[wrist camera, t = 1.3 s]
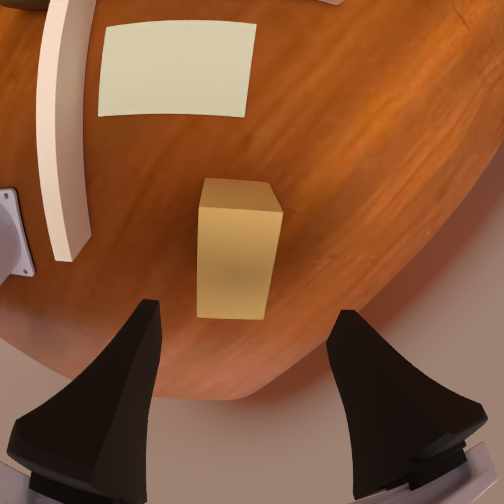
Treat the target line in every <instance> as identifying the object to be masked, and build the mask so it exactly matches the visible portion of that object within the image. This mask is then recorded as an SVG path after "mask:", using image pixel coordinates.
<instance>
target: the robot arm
mask: <svg viewBox="0 0 504 504" xmlns="http://www.w3.org/2000/svg"><path fill="white" fill-rule="evenodd" d="M7 194H8V196H7ZM26 270H27V271H26ZM9 274H15V275H23V276H30V277H32V276H33V275H34V274H35V269H34V266H33V263H32V259H31V256H30V252H29V249H28V245H27V241H26V237H25V233H24V229H23V225H22V220H21V215H20V210H19V205H18V200H17V194H16V191H15V190H14V189H13V188H7V189H0V286H1V284H2V283H3V282H4V280H5V279H6V278H7V277H8V275H9ZM161 345H162V329H161V319H160V307H159V301H157V300H147V299H143V300H142V301H141V302H140V303H139V305H138V306H137V308H136V309H135V310H134V312H133V313H132V315H131V316H130V317H129V319H128V320H127V321H126V323H125V324H124V325H123V327H122V328H121V329H120V330H119V332H118V333H117V334H116V336H115V337H114V338H113V339H112V341H111V342H110V343H109V344H108V345H107V346H106V347H105V349H104V350H103V351H102V352H101V353H100V354H99V355H98V357H97V358H96V359H95V360H94V361H93V362H92V363H91V364H90V365H89V366H88V367H87V368H86V369H85V370H84V371H83V372H82V373H81V374H80V375H79V376H77V377H76V378H75V379H74V380H73V381H72V382H71V383H70V384H68V385H67V386H66V387H65V388H64V389H63V390H61V391H60V392H58V393H57V394H56V395H54V396H53V397H52V398H50V399H49V400H48V401H46V402H45V403H43V404H42V405H41V406H39V407H38V408H36V409H34V410H33V411H31V412H29V413H27V414H26V415H24V416H22V417H21V418H19V419H17V420H16V422H15V424H14V426H13V430H12V432H11V436H10V440H9V443H8V448H7V454H8V455H9V456H10V457H11V458H12V459H14V460H15V461H16V462H18V463H20V464H21V465H23V466H24V467H26V468H27V469H29V470H31V471H32V473H31V477H29V476H27V475H25V474H24V473H22V472H20V471H18V470H16V469H14V468H12V467H10V466H8V465H7V464H5V463H3V462H1V461H0V504H144V503H146V502H147V492H146V440H147V424H148V414H149V407H150V403H151V398H152V393H153V388H154V384H155V379H156V375H157V370H158V366H159V361H160V353H161ZM326 345H327V351H328V356H329V362H330V366H331V369H332V372H333V375H334V378H335V381H336V384H337V387H338V390H339V393H340V396H341V399H342V402H343V405H344V408H345V413H346V417H347V422H348V428H349V433H350V441H351V448H352V459H353V495H354V499H355V500H358V499H361V498H365V497H368V496H371V495H374V494H377V493H380V492H383V491H385V490H387V491H386V492H383V493H381V494H378V495H375V496H372V497H369V498H366V499H363V500H360V501H356V502H353V503H349V504H471V503H472V502H474V501H475V500H476V499H477V498H478V497H479V496H480V495H481V494H482V493H483V492H485V491H486V490H487V489H488V488H489V487H490V486H491V485H493V484H494V483H495V482H496V481H497V480H498V475H497V472H496V470H495V467H494V464H493V462H492V460H491V457H490V455H489V452H488V450H487V447H486V445H485V443H484V441H482V442H480V443H479V444H477V445H476V446H474V447H472V448H471V449H469V450H468V451H466V452H465V453H464V451H463V448H464V447H465V446H466V443H465V441H464V440H465V439H466V438H468V437H469V436H470V435H471V434H473V433H474V432H475V431H477V430H478V429H479V428H480V427H481V426H482V425H484V424H485V423H486V421H487V420H488V417H487V415H486V413H485V411H484V409H483V407H482V405H481V404H480V403H477V402H475V401H472V400H470V399H467V398H465V397H463V396H460V395H459V394H457V393H455V392H453V391H451V390H449V389H447V388H445V387H444V386H442V385H440V384H439V383H437V382H436V381H434V380H432V379H431V378H429V377H428V376H426V375H425V374H424V373H422V372H421V371H420V370H419V369H417V368H416V367H414V366H413V365H412V364H411V363H410V362H408V361H407V360H406V359H405V358H404V357H402V355H400V354H399V353H398V352H397V351H396V350H395V349H394V348H393V347H392V346H391V345H390V344H389V343H388V342H386V341H385V340H384V339H383V338H382V337H381V336H380V335H379V334H378V333H377V332H376V331H375V330H374V329H373V328H372V327H371V326H370V325H369V324H368V323H367V322H366V321H365V320H364V319H363V318H362V317H361V316H360V315H359V314H358V313H357V312H356V311H355V310H341V311H340V314H339V316H338V318H337V320H336V323H335V325H334V327H333V329H332V331H331V333H330V336H329V338H328V340H327V342H326Z"/></svg>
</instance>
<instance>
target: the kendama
mask: <svg viewBox="0 0 504 504" xmlns="http://www.w3.org/2000/svg"><path fill="white" fill-rule="evenodd" d="M49 4H50V0H0V5H2V6H5V7H9V8H15V9H28V10H41V9H48V8H49Z"/></svg>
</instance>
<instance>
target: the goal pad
mask: <svg viewBox="0 0 504 504" xmlns="http://www.w3.org/2000/svg"><path fill="white" fill-rule="evenodd" d="M256 25H257V24H249V23H240V22H227V21H208V20H174V21H155V22H143V23H133V24H125V25H118V26H111V27H107V28H106V34H105V41H104V48H103V56H102V65H101V75H100V88H99V108H98V117H99V116H112V115H129V114H203V115H220V116H233V117H244V116H245V108H246V100H247V92H248V84H249V76H250V69H251V61H252V54H253V47H254V40H255V32H256Z"/></svg>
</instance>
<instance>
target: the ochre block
mask: <svg viewBox="0 0 504 504" xmlns="http://www.w3.org/2000/svg"><path fill="white" fill-rule="evenodd" d="M282 218H283V211H282V209H281V207H280V205H279V203H278V201H277V199H276V197H275V195H274V193H273V191H272V189H271V187H270V185H269V183H268V182H258V181H247V180H234V179H219V178H205V180H204V185H203V189H202V194H201V199H200V204H199V215H198V246H197V317H200V318H223V319H263V318H264V313H265V308H266V303H267V298H268V293H269V287H270V282H271V277H272V272H273V267H274V261H275V256H276V251H277V245H278V240H279V234H280V229H281V223H282Z"/></svg>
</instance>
